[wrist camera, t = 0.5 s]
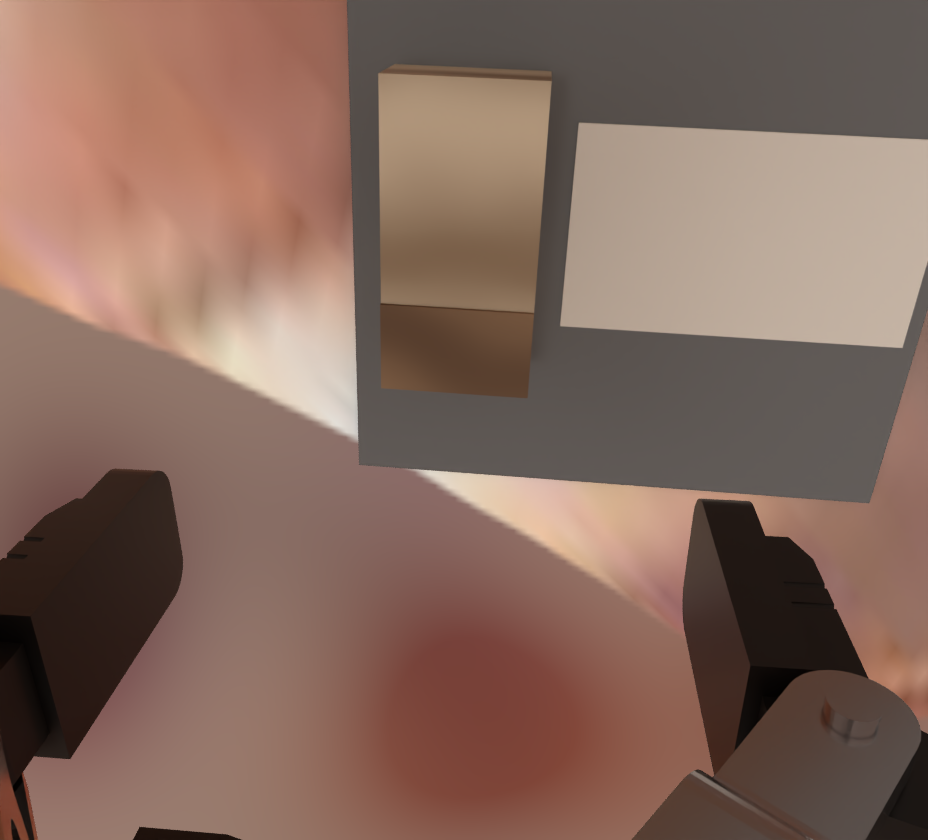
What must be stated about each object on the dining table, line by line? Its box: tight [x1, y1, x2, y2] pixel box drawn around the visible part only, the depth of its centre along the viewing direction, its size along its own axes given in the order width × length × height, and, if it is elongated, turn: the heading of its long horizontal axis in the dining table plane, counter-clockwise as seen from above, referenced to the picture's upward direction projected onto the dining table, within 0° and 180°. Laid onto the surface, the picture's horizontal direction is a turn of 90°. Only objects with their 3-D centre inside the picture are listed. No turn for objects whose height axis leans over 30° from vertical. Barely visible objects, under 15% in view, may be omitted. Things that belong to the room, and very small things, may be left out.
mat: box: [347, 0, 928, 503], centre depth 29 cm, size 20×20×1 cm
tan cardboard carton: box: [378, 64, 552, 398], centre depth 28 cm, size 10×5×3 cm, turn 178°
